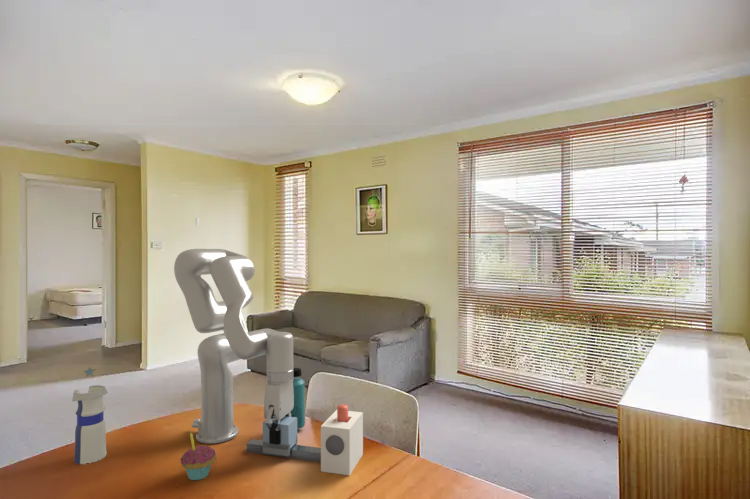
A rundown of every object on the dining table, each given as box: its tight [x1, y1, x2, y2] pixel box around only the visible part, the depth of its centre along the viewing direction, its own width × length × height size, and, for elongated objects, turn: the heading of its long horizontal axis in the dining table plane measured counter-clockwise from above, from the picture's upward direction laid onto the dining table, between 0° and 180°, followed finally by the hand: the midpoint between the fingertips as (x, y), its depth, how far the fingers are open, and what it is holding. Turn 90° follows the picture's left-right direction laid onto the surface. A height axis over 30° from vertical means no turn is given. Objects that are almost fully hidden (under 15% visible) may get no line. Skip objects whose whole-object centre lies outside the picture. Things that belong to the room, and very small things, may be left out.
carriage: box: [262, 416, 298, 456], centre depth 123 cm, size 8×6×9 cm
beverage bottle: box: [291, 367, 306, 430], centre depth 139 cm, size 6×7×20 cm
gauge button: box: [336, 403, 349, 422], centre depth 118 cm, size 3×3×7 cm
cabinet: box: [320, 409, 364, 476], centre depth 118 cm, size 8×12×12 cm, turn 165°
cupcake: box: [180, 430, 217, 481], centre depth 111 cm, size 9×8×12 cm
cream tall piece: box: [71, 366, 108, 465], centre depth 121 cm, size 8×8×25 cm
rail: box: [245, 438, 321, 463], centre depth 122 cm, size 25×3×2 cm, turn 75°
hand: (280, 438), depth 123 cm, fingers closed on carriage, 5 cm apart
